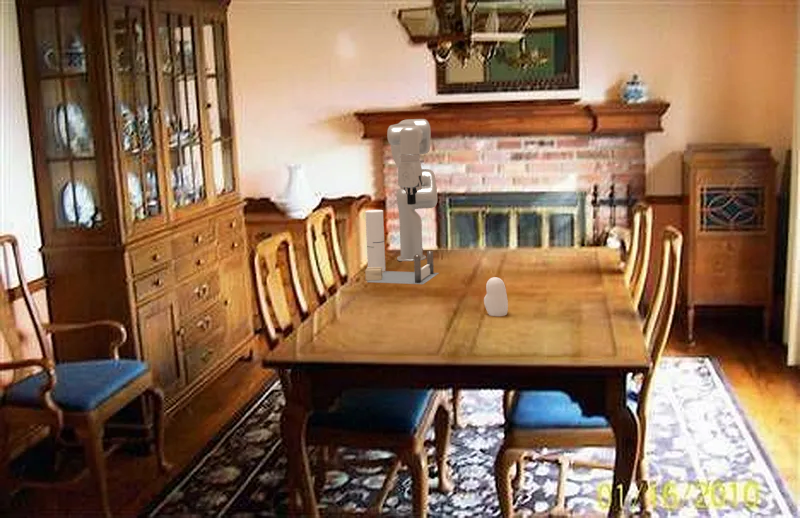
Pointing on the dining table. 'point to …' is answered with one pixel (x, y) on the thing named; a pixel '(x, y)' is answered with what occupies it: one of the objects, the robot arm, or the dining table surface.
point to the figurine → (496, 297)
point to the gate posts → (418, 265)
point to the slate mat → (401, 277)
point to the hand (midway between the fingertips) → (411, 204)
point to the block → (373, 273)
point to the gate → (425, 271)
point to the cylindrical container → (375, 238)
